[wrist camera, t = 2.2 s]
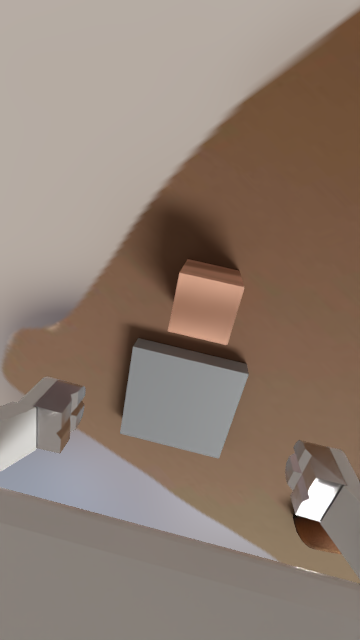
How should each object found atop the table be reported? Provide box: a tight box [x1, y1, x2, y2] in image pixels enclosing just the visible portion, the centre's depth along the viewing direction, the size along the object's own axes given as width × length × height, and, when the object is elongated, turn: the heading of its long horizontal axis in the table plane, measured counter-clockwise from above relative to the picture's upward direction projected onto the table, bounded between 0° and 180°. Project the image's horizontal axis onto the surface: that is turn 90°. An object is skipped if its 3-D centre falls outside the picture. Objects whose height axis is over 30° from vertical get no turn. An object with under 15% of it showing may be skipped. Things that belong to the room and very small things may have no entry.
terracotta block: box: [168, 259, 245, 345], centre depth 25 cm, size 5×5×6 cm
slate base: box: [120, 338, 248, 458], centre depth 32 cm, size 12×12×2 cm
